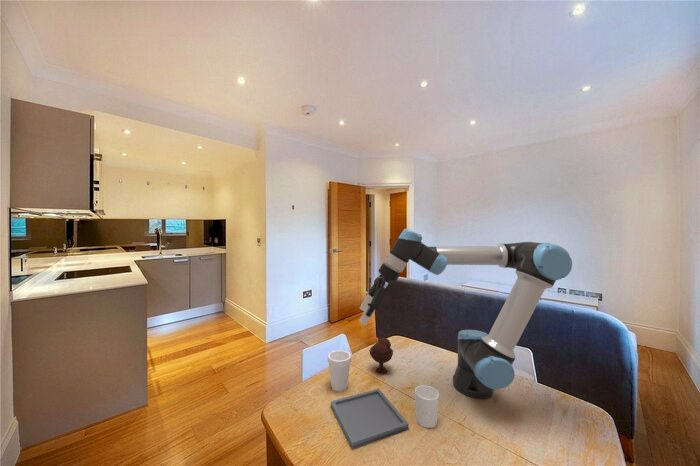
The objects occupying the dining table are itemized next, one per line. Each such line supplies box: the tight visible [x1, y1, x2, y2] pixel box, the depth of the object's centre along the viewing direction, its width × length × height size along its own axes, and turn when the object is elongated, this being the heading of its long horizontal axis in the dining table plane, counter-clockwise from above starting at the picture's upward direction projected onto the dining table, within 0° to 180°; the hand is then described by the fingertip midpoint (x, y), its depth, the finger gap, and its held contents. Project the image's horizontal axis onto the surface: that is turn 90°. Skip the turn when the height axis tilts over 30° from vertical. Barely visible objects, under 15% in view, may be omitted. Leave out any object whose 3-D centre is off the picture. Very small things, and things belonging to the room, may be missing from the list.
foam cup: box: [327, 349, 352, 392], centre depth 107 cm, size 10×9×13 cm
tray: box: [330, 388, 410, 450], centre depth 90 cm, size 20×20×2 cm
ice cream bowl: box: [368, 337, 394, 375], centre depth 119 cm, size 11×11×15 cm
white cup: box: [414, 384, 440, 429], centre depth 89 cm, size 8×8×10 cm
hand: (362, 316), depth 97 cm, fingers open, 13 cm apart
